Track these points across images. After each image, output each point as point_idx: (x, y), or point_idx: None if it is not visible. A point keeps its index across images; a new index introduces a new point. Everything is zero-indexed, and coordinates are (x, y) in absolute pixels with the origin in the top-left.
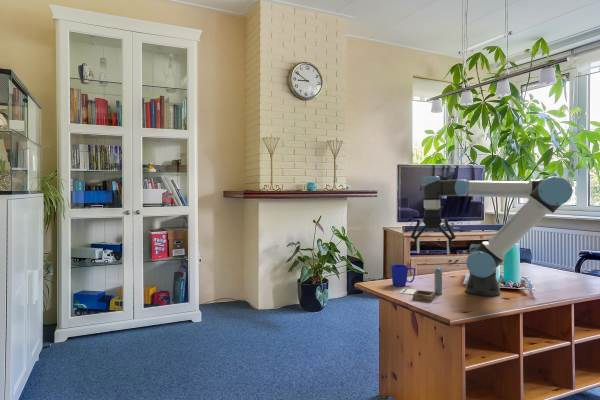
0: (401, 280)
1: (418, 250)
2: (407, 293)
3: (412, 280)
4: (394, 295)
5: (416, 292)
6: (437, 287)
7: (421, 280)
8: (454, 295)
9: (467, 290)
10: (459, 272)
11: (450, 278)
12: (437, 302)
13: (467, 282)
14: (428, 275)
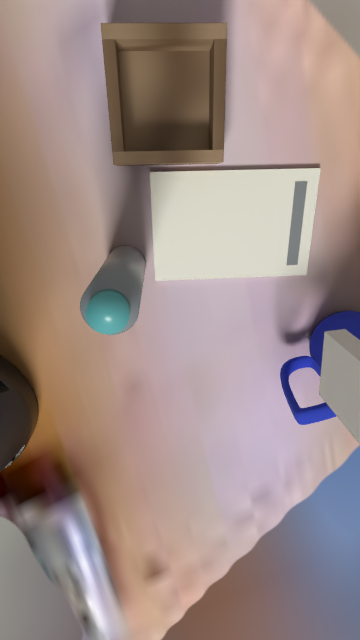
0: (340, 324)
1: (347, 348)
2: (273, 169)
3: (284, 367)
4: (338, 93)
5: (213, 83)
6: (121, 253)
7: (253, 465)
8: (47, 279)
9: (11, 370)
10: (145, 627)
11: (152, 544)
12: (75, 58)
13: (4, 411)
14: (241, 547)
